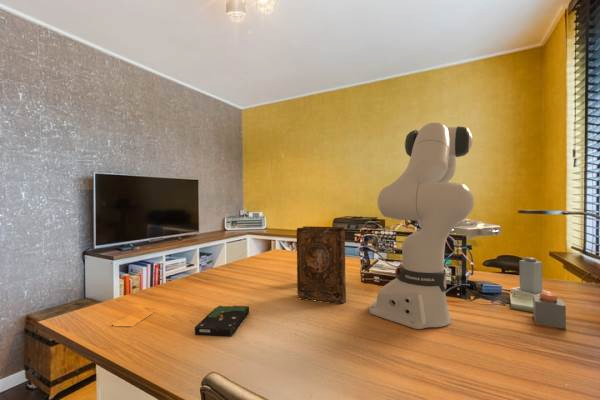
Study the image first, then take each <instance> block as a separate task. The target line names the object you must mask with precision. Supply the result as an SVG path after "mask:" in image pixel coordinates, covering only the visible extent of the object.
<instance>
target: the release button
mask: <svg viewBox="0 0 600 400" xmlns="http://www.w3.org/2000/svg"><path fill="white" fill-rule="evenodd" d="M540 298H541V299H543V301H547V302H554V301H557V298H558V295H557V294H555V293H553V292H552V293H547V292H540Z"/></svg>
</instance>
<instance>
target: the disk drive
mask: <svg viewBox="0 0 600 400" xmlns="http://www.w3.org/2000/svg"><path fill="white" fill-rule="evenodd" d="M248 313H249V314H250V307H249V306H247V305H246V306H245V305H239V306H238V305H231V306H225V305H223V306H222V305H218V306H216V307H215V308H214V309H212V311H210V313H208V314H207V315H206V316H205V317H204V318H203V319H202V320H201V321H200V322H198V323H197V325H196V326H195V327H194V336H204V337H224V338H225V337H226V338H232V337H233V336H234V334H236V332H237V330H238V329H239V328H238V327H240V326H241V325H242V324H243V322H244V321H245V320H246V318H247V317H248V316H249V314H248ZM247 315H248V316H247ZM246 316H247V317H246ZM245 317H246V318H245ZM244 319H245V320H244ZM243 320H244V321H243ZM241 323H242V324H241ZM240 324H241V325H240Z"/></svg>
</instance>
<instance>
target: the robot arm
mask: <svg viewBox="0 0 600 400" xmlns="http://www.w3.org/2000/svg"><path fill="white" fill-rule="evenodd" d="M472 145H473V135H472V133H471V130H470V129H469V127H466V126H456V127H455V126H453V127H452V126H450V127H449V126H446V125H444V124H442V123H440V122H429V123H426V124H425V125H423V126H422V127H421V128H420V129H414V130H411V131H410V132H409V133H407V134H406V138H405V140H404V150H405V153H406V155H407V156H409V157H410V158H409V161H408V164H407V167H406V169H405V170H404V172H402V174H401V175H400V176H399V177H398V178H397V179H396V180H394V181H393V182H391V183H390V184H388V185H386V186H384V187H383V188H382V189H381V190H380V192H379V193H378V196H377V201H376V202H377V207H378V210H379V212H380V214H381V215H382V216H384V217H385V218H388V219H389V218H390V219H393V220H398V221H416V222H417V223H416V224H417V225H418V227H419V228H420V230H418V231H415V232H413V233H411V234H409V235H407V236H406V237H405V238H404V240H403V241H402V245H401V249H402V250H401V251H402V254H401V256H402V262H401V263H400V264H398V265H397V267H396V268H395V270H394V275H395V276H396V278H394V279H392V280H391V281H389V282H388V283H386V284H385V285H383V286H382V287H380V289H379V290H378V293H377V297H376V299H375V300H374V301H372V303H371V304H370V305H369V307H368V308H369V310H368V312H369V313H370V314H371V315H374V316H377V317H379V318H383V319H385V320H388V321H391V322H394V323H398V324H399V325H400V324H401V325H403V326H407V327H410V328H412V329H415V330H416V329H417V330H421V329H422V330H423V329H426V328H443V327H446V326H448V325H450V324H451V323H452V317H451V314H450V311H449V307H448V302H447V297H446V290H447V274H446V273H447V271H446V269H445V249H446V242H447V239H448V238H449V237H448V235H449V233H450V231H451V230H452V232H453V233H456V234H466V235H467V236H468V240H467V241H469V240H471V239H473V238H474V239H475V238H477V237H488V236H491V237H492V236H499V235H502V226H501V225H498V224H493V223H487V222H483V221H480V220H473V219H468V217H469V216H470V214H471V213H472V211H473V208H474V205H475V198H474V195H473V192H472V191H471V190H470V188H469V187H468V186H467V185H466V184H463V183H456V182H450V180H452V179H453V177H454V176H455V172H456V167H457V158H458V157H459V158H460V157H463V156H466V155H467V154H468V153H469V152H470V150H471V148H472Z"/></svg>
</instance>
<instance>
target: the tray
mask: <svg viewBox="0 0 600 400" xmlns="http://www.w3.org/2000/svg"><path fill="white" fill-rule="evenodd" d="M509 300H510V302H509V303H510V308H511V309H514V310H519V311H525V312H532V313H533V297H527V296H520V295H514V294H511V293H510V294H509Z"/></svg>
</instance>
